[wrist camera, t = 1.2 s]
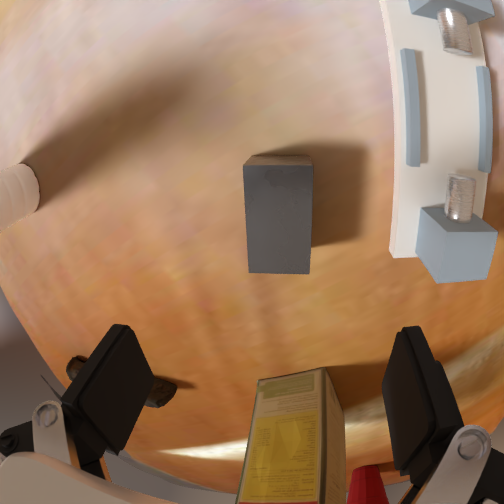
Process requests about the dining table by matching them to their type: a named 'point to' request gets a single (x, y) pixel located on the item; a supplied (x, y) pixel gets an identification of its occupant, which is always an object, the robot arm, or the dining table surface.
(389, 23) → the shaft stand
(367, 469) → the plastic cup
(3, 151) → the dining table surface
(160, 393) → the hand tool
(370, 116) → the dining table surface
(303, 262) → the block
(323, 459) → the food packaging
